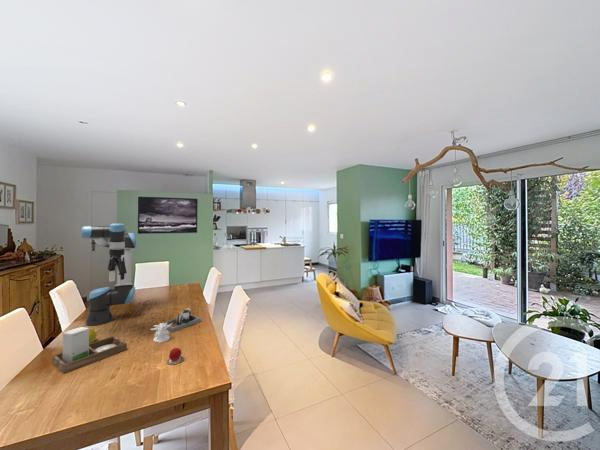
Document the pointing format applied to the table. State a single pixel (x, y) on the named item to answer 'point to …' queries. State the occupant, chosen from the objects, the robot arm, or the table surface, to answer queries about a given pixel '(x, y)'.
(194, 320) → the valet frame
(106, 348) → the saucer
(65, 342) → the skincare box
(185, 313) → the camera
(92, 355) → the divided wooden tray
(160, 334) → the figurine
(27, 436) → the table surface
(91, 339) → the lemon
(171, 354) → the red push button
